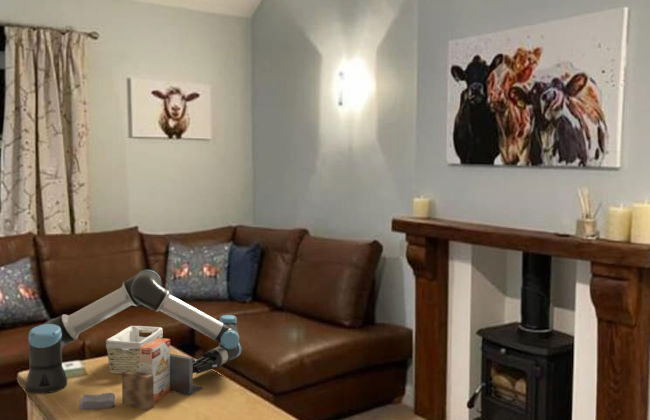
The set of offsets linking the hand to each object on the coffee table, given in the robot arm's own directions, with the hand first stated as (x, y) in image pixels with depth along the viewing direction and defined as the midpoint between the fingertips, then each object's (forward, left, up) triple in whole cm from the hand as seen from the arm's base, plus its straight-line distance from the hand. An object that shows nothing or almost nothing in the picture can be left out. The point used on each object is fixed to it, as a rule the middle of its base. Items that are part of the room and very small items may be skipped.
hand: (178, 374), depth 247 cm
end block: (-3, -19, -6) cm, 20 cm away
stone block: (-17, -25, -7) cm, 30 cm away
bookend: (0, +2, -6) cm, 6 cm away
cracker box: (-3, -10, -6) cm, 12 cm away
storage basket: (-35, +14, -7) cm, 38 cm away
